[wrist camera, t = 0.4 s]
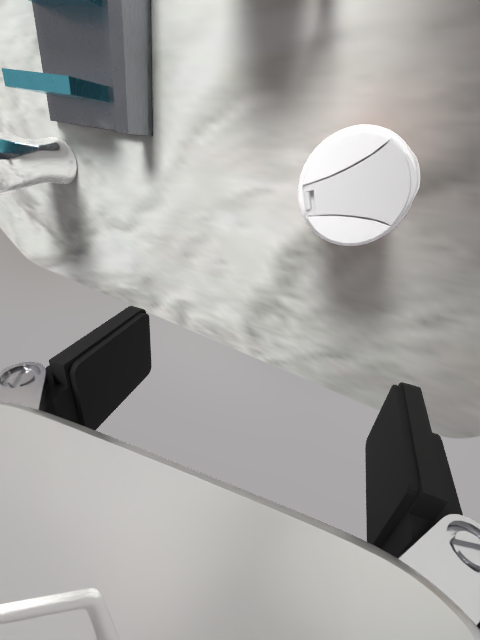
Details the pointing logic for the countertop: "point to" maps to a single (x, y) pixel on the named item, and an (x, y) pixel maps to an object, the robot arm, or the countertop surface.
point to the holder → (93, 63)
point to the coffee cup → (358, 185)
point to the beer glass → (34, 162)
